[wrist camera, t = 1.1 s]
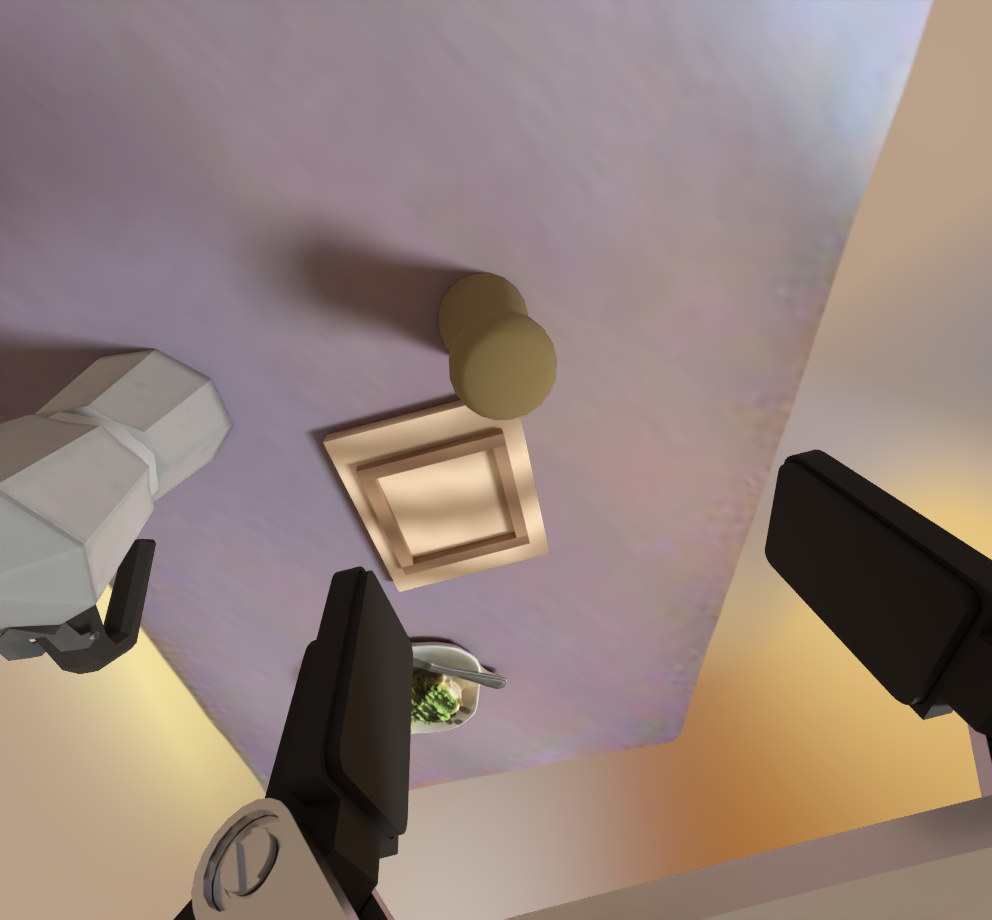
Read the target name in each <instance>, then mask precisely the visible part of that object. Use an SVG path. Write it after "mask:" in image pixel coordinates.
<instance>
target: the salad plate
mask: <svg viewBox="0 0 992 920" xmlns="http://www.w3.org/2000/svg"><path fill="white" fill-rule="evenodd" d="M411 645H412V649H413V678H412V706H411V734H415V733H423V734H424V733H432V732H441V731H447V730H450V729H453V728H455V727H458V726H460V725H461V724H463V723H464V722H466V721H467V720H468V719H469V718H471V717H472V716H473V715H474V713H475V711H476V709H477V704H478V698H479V691H480V686H481V685H484V686H487V687H491V688H495V689H500V688H502V687H504V686H505V685H506V683H507V680H506V678H505V677H503V676H501V675H498V674H495V673H492V672H489V671H487V670H485V669H484V668H483V667H482V666H481V665H480V663H479V661H478V659H477V658H476V657H475V656H474V655H472V654H471V653H469V652H468V651H466V650H464V649H462V648H461V647H460V646H458V645H455V644H450V643H442V642H412V643H411Z"/></svg>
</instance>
